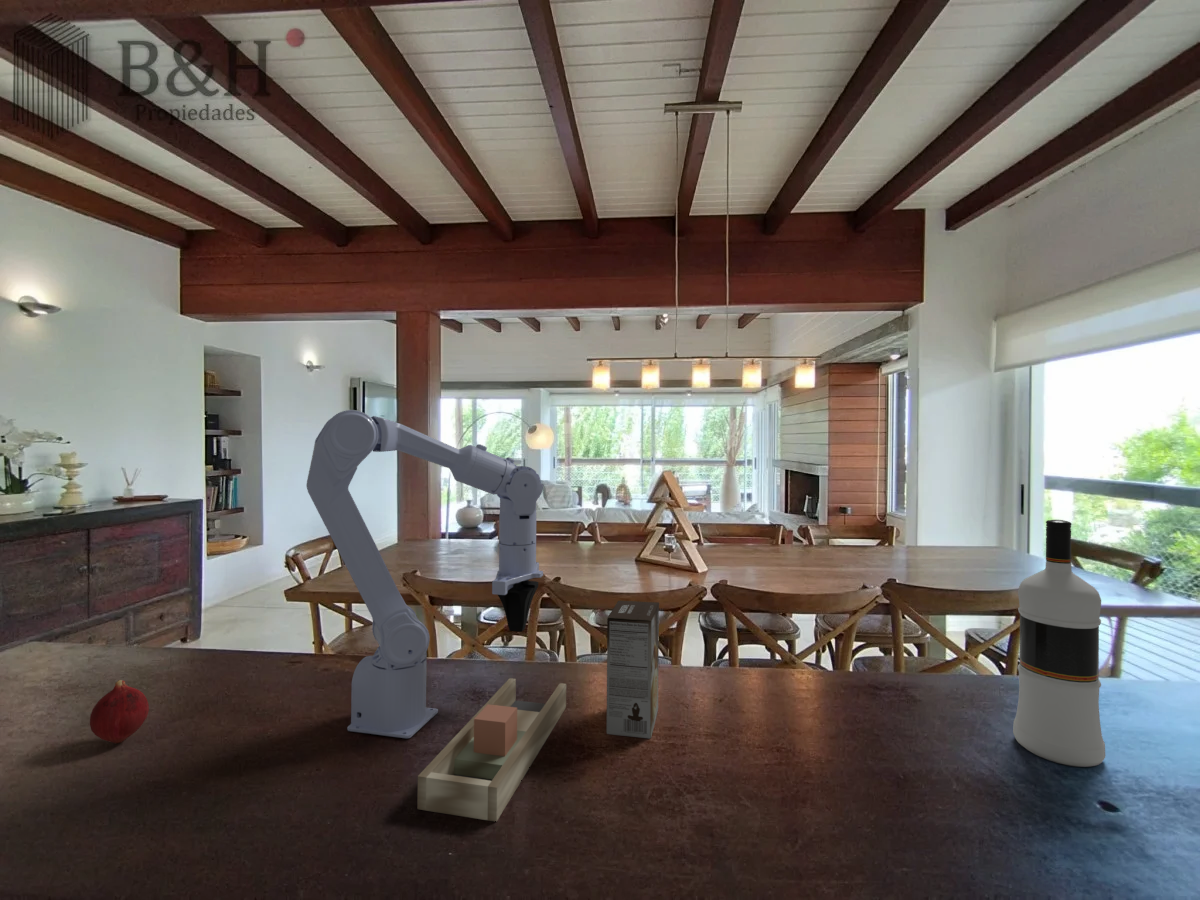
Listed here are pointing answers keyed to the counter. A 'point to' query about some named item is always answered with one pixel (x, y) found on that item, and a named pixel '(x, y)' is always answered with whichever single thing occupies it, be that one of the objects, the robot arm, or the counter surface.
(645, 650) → the coffee box
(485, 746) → the block
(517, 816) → the counter surface
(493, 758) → the trap lane
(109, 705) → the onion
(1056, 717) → the vodka
